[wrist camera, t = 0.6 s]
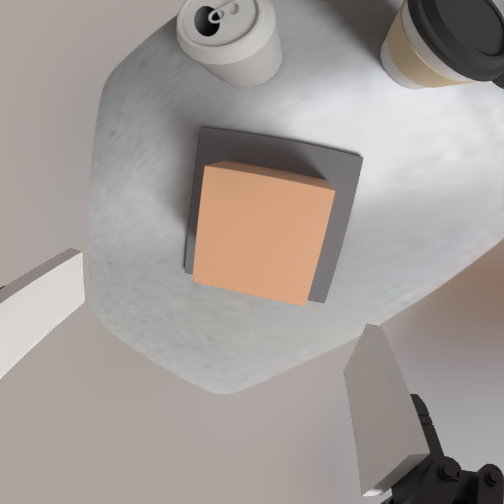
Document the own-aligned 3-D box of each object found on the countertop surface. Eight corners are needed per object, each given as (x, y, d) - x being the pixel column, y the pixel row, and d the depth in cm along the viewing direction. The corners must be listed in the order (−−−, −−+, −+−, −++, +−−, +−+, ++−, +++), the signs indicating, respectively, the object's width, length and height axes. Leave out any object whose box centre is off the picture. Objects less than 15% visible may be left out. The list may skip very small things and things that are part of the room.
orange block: (327, 180, 29) (335, 190, 22) (304, 273, 33) (305, 306, 26) (225, 160, 29) (204, 165, 23) (212, 253, 33) (192, 281, 27)
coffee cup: (357, 70, 24) (403, 16, 11) (385, 12, 21) (431, -55, 7) (429, 114, 25) (514, 104, 11) (452, 55, 21) (529, 21, 7)
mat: (362, 157, 28) (363, 157, 27) (324, 300, 34) (324, 303, 34) (202, 127, 29) (200, 127, 29) (186, 270, 35) (184, 272, 35)
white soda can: (205, 39, 25) (159, -4, 14) (272, 20, 24) (256, -37, 13) (222, 97, 28) (178, 74, 17) (291, 79, 26) (287, 41, 15)
